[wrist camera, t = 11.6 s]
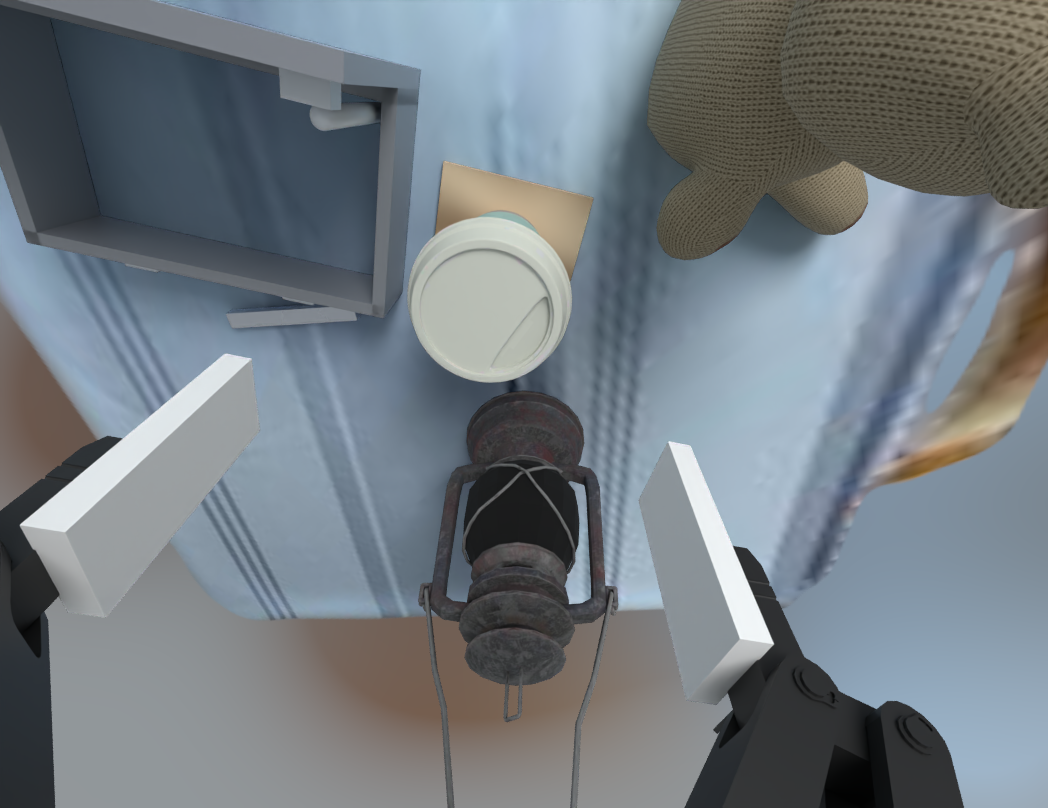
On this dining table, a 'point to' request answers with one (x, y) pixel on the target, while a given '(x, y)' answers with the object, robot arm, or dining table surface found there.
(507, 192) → the cork pad
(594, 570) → the lantern
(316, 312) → the bar
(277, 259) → the case
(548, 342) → the coffee cup
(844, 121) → the bear
